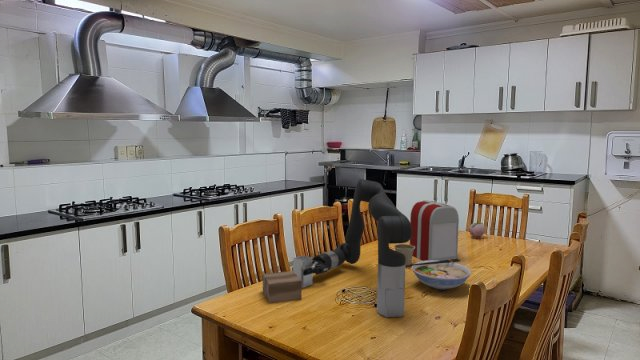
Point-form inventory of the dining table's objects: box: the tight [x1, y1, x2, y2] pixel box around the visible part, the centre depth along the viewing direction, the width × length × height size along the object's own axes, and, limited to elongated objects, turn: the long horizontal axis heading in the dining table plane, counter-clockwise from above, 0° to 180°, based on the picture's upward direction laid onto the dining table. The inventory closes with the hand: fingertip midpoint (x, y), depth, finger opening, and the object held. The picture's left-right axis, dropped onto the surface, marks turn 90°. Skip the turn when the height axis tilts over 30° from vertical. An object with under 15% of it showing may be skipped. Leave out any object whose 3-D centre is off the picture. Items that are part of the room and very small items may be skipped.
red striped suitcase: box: [409, 199, 460, 261], centre depth 214 cm, size 16×18×27 cm
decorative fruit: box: [468, 220, 486, 239], centre depth 253 cm, size 9×8×10 cm
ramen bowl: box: [405, 258, 472, 291], centre depth 175 cm, size 25×23×8 cm
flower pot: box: [393, 243, 415, 267], centre depth 202 cm, size 9×9×9 cm
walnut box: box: [262, 270, 303, 304], centre depth 165 cm, size 12×12×7 cm
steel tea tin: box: [292, 254, 313, 289], centre depth 176 cm, size 5×5×11 cm
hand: (298, 271), depth 174 cm, fingers closed on steel tea tin, 5 cm apart
